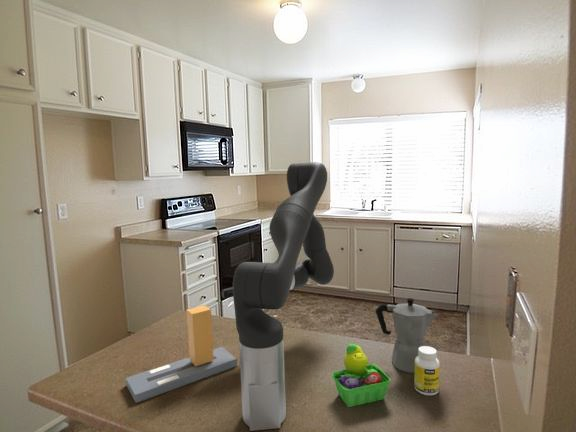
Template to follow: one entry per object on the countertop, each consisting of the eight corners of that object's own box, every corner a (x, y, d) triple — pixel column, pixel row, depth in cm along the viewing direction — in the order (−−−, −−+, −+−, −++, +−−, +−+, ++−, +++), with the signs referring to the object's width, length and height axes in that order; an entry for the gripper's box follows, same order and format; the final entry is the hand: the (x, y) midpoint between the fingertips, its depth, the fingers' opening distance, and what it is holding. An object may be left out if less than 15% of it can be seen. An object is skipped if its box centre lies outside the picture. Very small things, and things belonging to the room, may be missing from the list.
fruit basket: (345, 412, 80) (344, 362, 79) (329, 389, 89) (328, 344, 87) (392, 402, 83) (392, 353, 82) (372, 380, 92) (372, 337, 90)
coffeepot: (437, 360, 101) (438, 295, 98) (435, 378, 92) (437, 307, 90) (378, 350, 107) (378, 289, 105) (372, 366, 98) (372, 300, 96)
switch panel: (222, 353, 108) (221, 346, 108) (237, 365, 101) (236, 358, 100) (126, 385, 93) (125, 377, 92) (135, 403, 85) (135, 394, 85)
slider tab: (207, 354, 102) (204, 305, 101) (213, 360, 99) (210, 309, 97) (189, 360, 99) (186, 309, 98) (195, 366, 96) (192, 314, 94)
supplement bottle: (423, 398, 84) (424, 357, 83) (409, 385, 89) (410, 346, 88) (444, 393, 86) (445, 353, 84) (429, 381, 91) (429, 342, 90)
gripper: (263, 264, 116) (211, 275, 106) (288, 273, 106) (233, 286, 96) (264, 287, 117) (213, 300, 107) (289, 299, 107) (235, 315, 97)
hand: (222, 294), depth 101 cm, fingers closed
